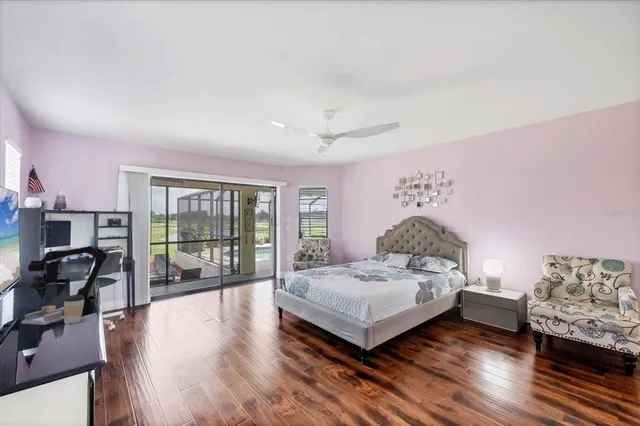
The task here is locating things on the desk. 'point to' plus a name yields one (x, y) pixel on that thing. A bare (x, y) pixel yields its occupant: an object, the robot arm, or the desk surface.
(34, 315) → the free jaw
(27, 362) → the desk surface
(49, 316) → the vise bed
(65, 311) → the coffee cup
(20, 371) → the desk surface
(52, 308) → the maple block
